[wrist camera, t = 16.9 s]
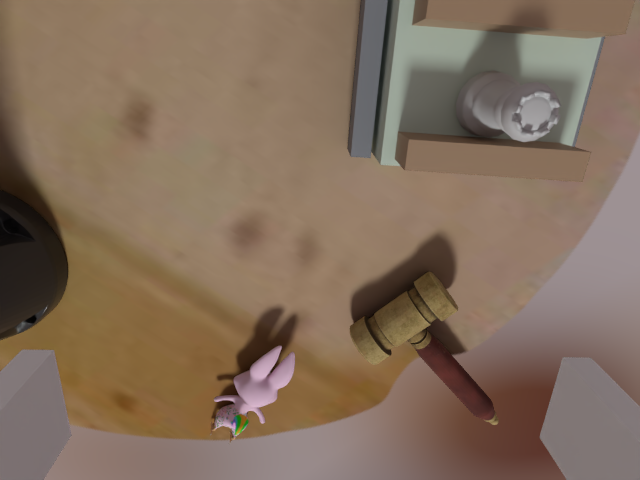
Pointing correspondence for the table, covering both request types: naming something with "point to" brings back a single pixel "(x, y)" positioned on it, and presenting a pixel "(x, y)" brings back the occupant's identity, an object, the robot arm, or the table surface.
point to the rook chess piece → (506, 107)
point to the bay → (369, 74)
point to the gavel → (421, 339)
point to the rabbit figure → (254, 391)
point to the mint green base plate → (481, 56)
